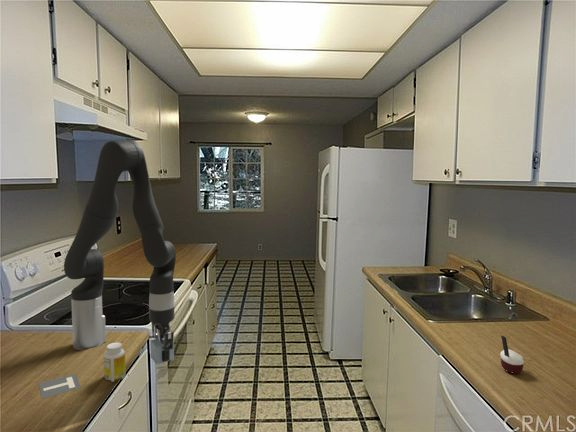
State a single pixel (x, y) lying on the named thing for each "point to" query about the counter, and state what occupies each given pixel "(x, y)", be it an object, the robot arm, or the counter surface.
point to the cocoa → (511, 359)
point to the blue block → (159, 351)
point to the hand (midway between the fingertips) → (162, 356)
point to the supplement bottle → (114, 362)
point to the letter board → (59, 385)
